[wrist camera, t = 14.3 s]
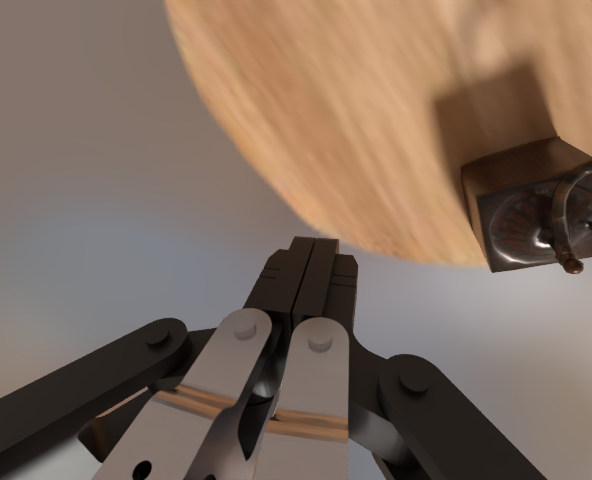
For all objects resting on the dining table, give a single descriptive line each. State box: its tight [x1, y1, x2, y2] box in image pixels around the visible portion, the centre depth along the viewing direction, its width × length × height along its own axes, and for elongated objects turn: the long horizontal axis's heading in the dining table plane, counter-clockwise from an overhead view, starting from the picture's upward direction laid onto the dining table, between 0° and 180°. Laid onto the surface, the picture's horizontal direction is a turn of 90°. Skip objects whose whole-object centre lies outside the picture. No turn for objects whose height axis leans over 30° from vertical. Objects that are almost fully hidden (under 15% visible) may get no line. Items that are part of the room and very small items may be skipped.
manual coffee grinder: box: [461, 136, 592, 274], centre depth 30 cm, size 16×11×18 cm
